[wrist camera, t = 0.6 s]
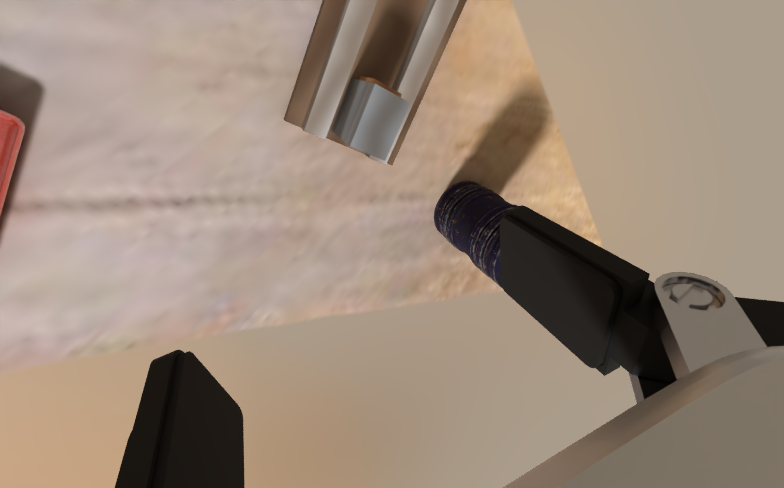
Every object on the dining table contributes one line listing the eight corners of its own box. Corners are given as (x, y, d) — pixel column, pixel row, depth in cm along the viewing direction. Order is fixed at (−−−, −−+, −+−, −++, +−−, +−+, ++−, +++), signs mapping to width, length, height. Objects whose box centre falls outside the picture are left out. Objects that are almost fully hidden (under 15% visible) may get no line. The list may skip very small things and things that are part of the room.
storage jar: (489, 174, 51) (566, 211, 39) (485, 229, 56) (552, 277, 44) (432, 188, 48) (496, 233, 36) (433, 244, 54) (489, 300, 42)
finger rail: (283, 119, 37) (295, 135, 29) (356, -103, 30) (394, -153, 23) (388, 162, 44) (419, 185, 37) (465, -9, 38) (520, -24, 30)
